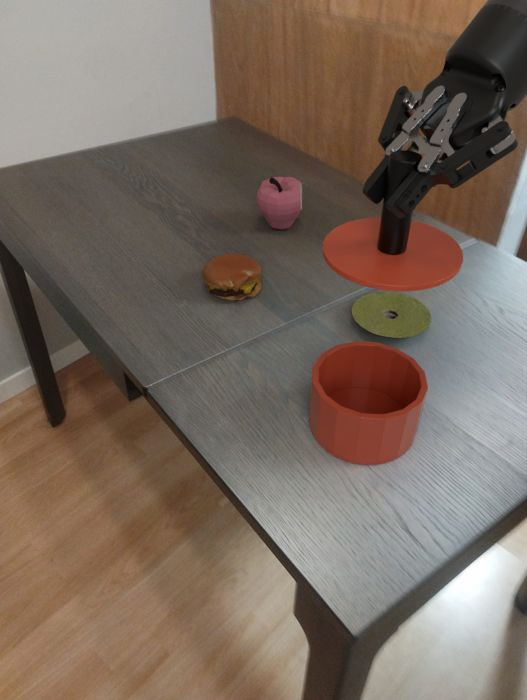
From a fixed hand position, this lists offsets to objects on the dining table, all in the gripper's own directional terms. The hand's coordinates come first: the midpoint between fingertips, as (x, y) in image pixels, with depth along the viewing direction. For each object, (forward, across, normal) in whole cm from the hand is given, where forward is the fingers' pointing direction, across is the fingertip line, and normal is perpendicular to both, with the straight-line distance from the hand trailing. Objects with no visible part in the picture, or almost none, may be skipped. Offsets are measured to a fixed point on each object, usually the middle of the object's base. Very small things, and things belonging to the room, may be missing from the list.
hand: (381, 204), depth 48 cm
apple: (+8, -47, +30) cm, 56 cm away
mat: (+9, -12, +29) cm, 33 cm away
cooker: (+19, +2, +18) cm, 27 cm away
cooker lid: (+3, 0, +5) cm, 6 cm away
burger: (+20, -32, +18) cm, 41 cm away
